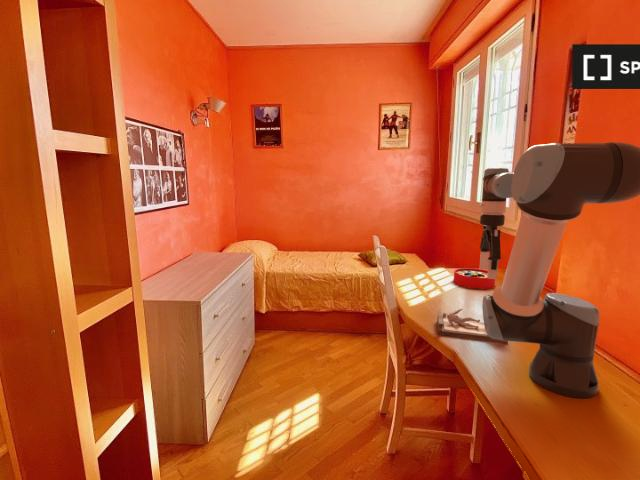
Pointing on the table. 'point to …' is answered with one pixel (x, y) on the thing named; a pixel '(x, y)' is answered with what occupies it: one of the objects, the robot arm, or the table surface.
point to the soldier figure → (459, 319)
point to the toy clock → (473, 278)
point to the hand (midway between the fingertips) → (487, 273)
